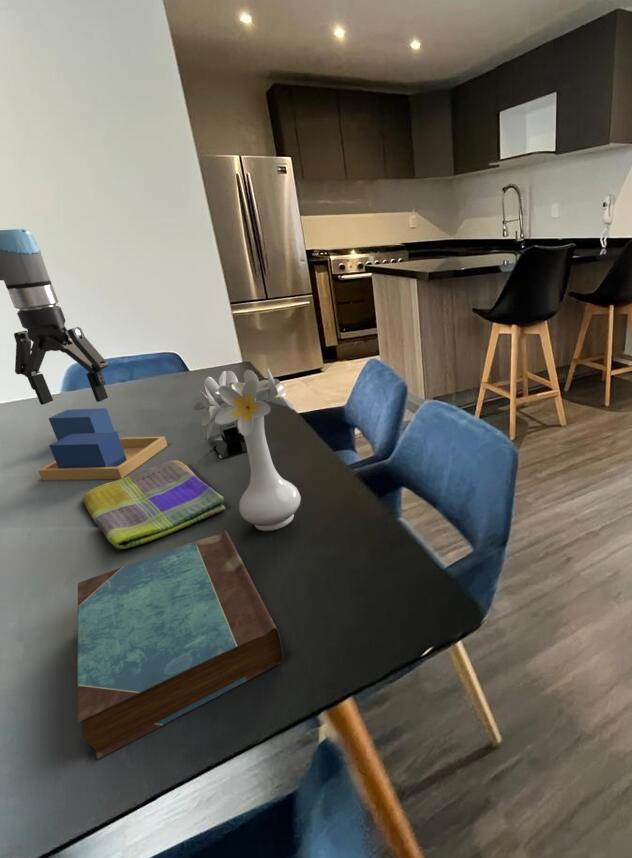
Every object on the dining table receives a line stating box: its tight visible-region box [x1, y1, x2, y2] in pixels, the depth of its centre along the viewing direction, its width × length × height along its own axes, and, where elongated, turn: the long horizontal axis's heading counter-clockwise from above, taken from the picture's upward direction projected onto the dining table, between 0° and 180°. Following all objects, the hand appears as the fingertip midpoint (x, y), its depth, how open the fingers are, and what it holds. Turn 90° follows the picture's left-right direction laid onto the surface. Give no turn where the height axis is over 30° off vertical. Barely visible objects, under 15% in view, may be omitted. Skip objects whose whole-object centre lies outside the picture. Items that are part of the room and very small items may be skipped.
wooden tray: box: [38, 436, 168, 482], centre depth 103 cm, size 17×15×3 cm
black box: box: [213, 421, 248, 460], centre depth 108 cm, size 12×7×5 cm, turn 36°
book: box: [76, 530, 284, 760], centre depth 56 cm, size 23×18×5 cm
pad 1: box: [48, 407, 116, 442], centre depth 115 cm, size 10×6×7 cm, turn 86°
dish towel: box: [82, 459, 227, 550], centre depth 85 cm, size 18×24×3 cm
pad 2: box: [48, 431, 127, 468], centre depth 98 cm, size 10×6×7 cm, turn 86°
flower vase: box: [193, 368, 302, 532], centre depth 75 cm, size 13×18×25 cm
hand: (74, 401), depth 112 cm, fingers open, 13 cm apart
